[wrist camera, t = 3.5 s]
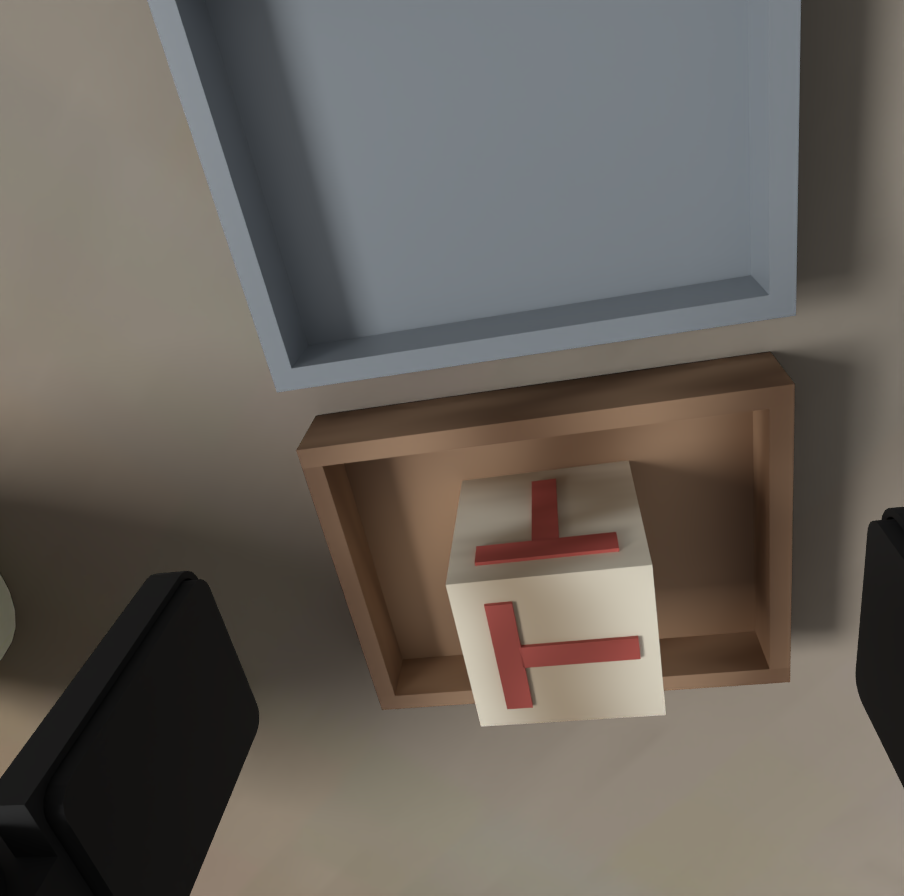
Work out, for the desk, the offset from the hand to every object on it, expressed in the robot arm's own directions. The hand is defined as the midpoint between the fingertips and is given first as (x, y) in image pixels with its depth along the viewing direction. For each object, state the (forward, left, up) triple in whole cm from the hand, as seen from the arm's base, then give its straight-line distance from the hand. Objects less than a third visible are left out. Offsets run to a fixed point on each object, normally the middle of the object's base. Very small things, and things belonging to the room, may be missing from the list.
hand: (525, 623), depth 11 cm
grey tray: (0, -5, -12) cm, 13 cm away
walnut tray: (0, +7, -12) cm, 14 cm away
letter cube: (0, +7, -11) cm, 13 cm away
